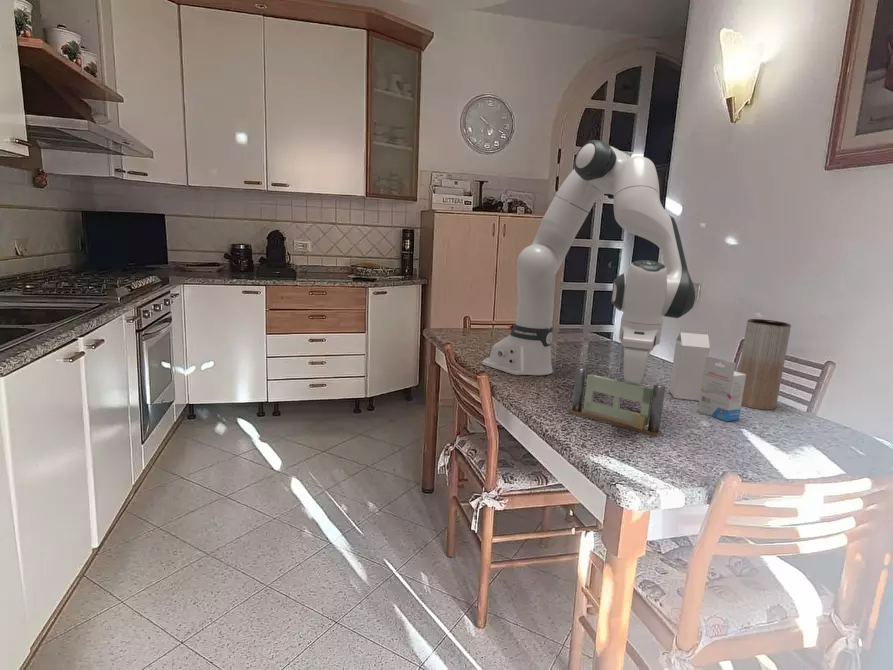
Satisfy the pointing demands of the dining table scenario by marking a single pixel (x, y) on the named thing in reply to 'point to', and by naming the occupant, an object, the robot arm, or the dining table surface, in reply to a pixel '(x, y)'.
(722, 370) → the ink box
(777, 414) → the dining table surface
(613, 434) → the dining table surface
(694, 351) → the milk carton
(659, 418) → the drawknife
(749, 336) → the planter
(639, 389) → the gate
